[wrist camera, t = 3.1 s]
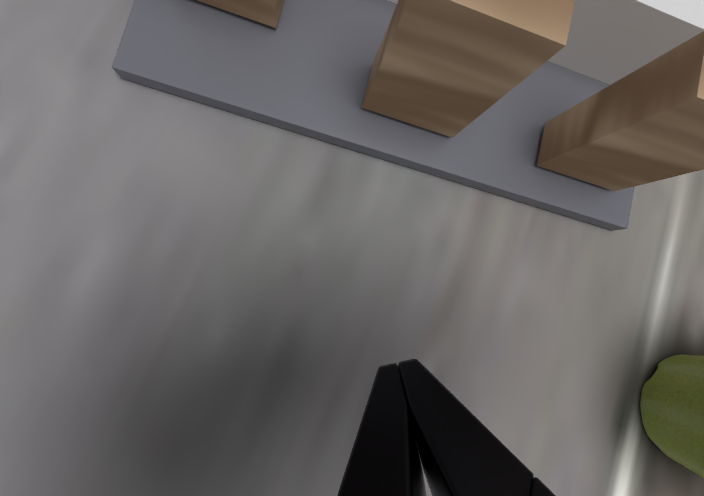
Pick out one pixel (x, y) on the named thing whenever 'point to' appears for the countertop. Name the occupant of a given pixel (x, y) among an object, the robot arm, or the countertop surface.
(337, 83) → the key console
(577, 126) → the key
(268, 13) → the key
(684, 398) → the plant pot
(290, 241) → the countertop surface
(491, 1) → the key middle
